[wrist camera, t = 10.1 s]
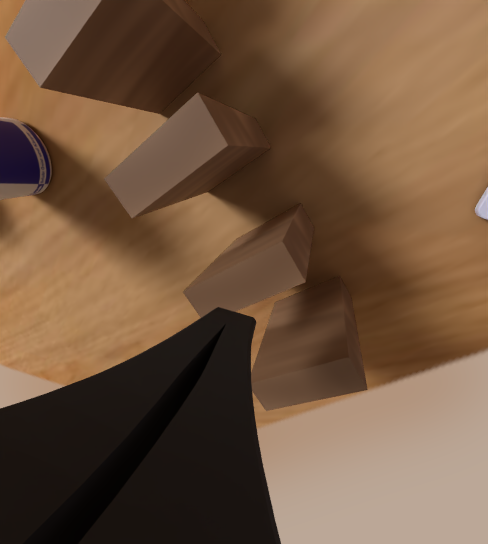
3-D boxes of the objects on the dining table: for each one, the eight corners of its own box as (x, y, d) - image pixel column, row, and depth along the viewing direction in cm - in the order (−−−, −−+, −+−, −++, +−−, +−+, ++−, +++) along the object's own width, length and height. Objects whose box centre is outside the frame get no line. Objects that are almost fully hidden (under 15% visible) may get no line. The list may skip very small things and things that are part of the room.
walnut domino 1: (221, 54, 15) (125, -34, 8) (159, 113, 17) (39, 87, 10) (203, 20, 14) (84, -105, 7) (142, 85, 16) (4, 37, 9)
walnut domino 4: (351, 297, 18) (367, 389, 11) (286, 321, 20) (266, 410, 13) (339, 276, 18) (348, 357, 11) (275, 302, 20) (247, 384, 13)
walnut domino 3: (314, 228, 17) (305, 281, 10) (249, 260, 19) (205, 324, 12) (300, 203, 17) (282, 241, 10) (236, 239, 19) (182, 291, 12)
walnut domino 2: (271, 147, 16) (227, 145, 9) (207, 192, 18) (132, 218, 11) (255, 118, 15) (197, 92, 8) (192, 167, 18) (104, 178, 11)
